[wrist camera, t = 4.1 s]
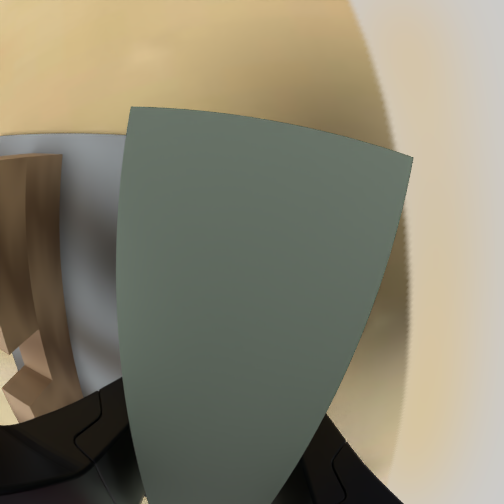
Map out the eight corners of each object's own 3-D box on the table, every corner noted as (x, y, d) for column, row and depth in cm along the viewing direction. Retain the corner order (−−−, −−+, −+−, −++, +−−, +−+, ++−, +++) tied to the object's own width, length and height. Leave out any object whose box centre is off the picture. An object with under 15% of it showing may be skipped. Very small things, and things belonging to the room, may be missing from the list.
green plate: (307, 159, 11) (413, 158, 2) (251, 399, 14) (229, 556, 6) (244, 146, 11) (130, 107, 2) (207, 390, 14) (161, 541, 6)
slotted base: (153, 449, 19) (130, 507, 13) (37, 398, 19) (4, 439, 13) (160, 138, 12) (77, 129, 6) (0, 136, 12) (-73, 143, 6)
